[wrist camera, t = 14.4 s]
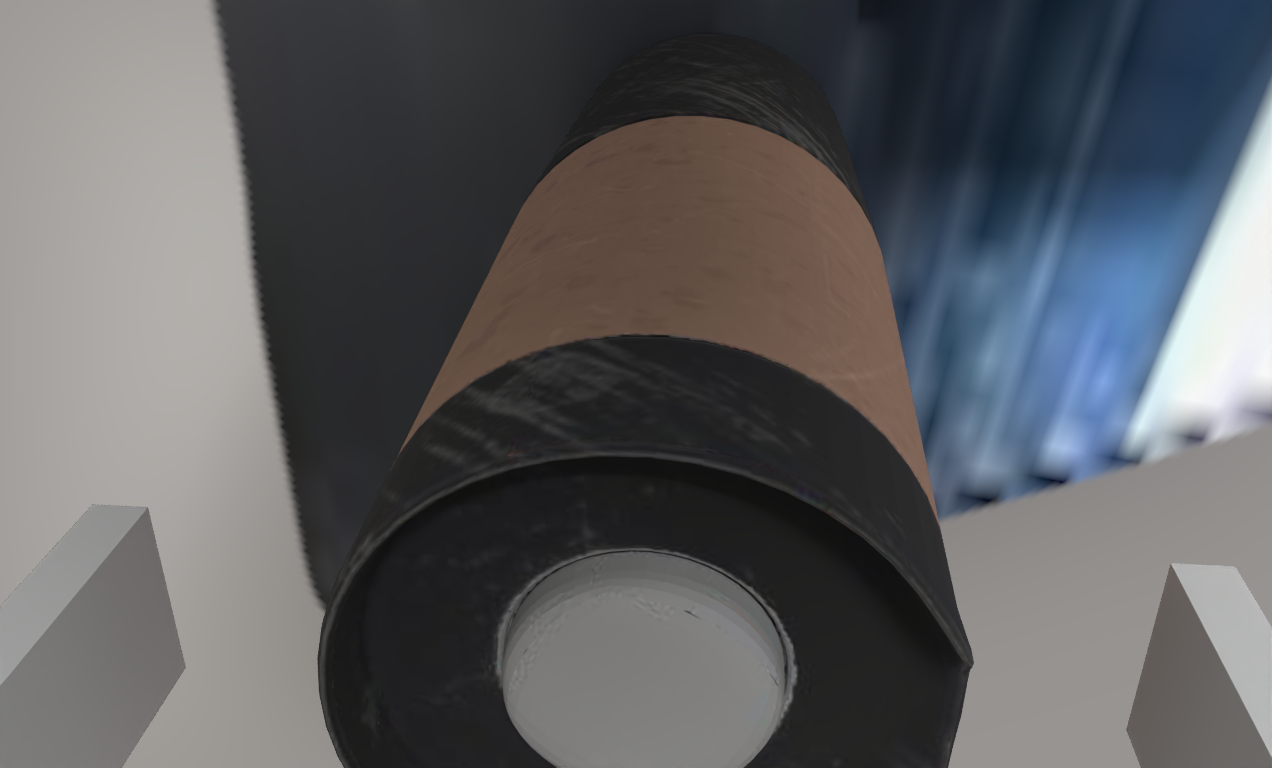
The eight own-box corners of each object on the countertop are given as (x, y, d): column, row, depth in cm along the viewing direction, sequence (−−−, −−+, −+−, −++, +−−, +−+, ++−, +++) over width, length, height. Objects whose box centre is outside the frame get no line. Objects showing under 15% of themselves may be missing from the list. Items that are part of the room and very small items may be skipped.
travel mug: (505, 156, 31) (168, 683, 13) (722, -48, 28) (656, 284, 10) (696, 352, 33) (622, 1022, 16) (915, 182, 30) (1129, 774, 13)
